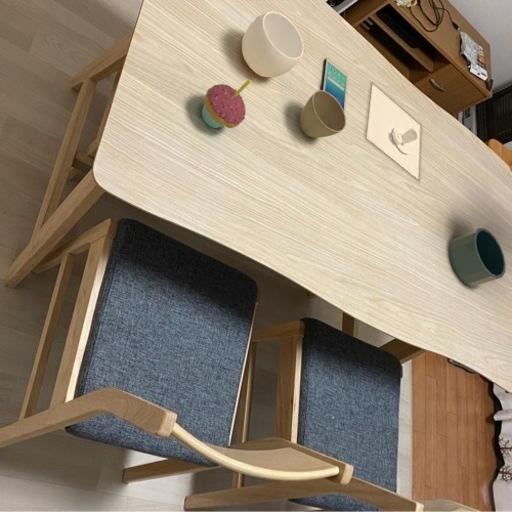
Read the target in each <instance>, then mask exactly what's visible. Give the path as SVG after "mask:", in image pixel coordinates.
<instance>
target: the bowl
mask: <svg viewBox="0 0 512 512" xmlns="http://www.w3.org/2000/svg"><path fill="white" fill-rule="evenodd" d="M448 257H449V261H450V264H451V267H452V269H453V271H454V273H455V275H456V276H457V278H458V279H459V280H460V281H461V282H462V283H463V284H464V285H465V286H468V287H470V288H471V287H473V288H474V287H477V286H480V285H484V284H486V283H489V282H493V281H495V280H500V279H502V278H503V277H504V275H505V274H506V267H507V264H506V258H505V254H504V252H503V249H502V247H501V245H500V243H499V241H498V239H497V238H496V237H495V235H493V233H492V231H490V230H488V229H486V228H485V227H480V228H478V227H477V228H476V229H473V230H471V231H468V232H466V233H464V234H461V235H458V236H456V237H454V238H452V240H451V241H450V243H449V246H448Z"/></svg>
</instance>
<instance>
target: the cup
mask: <svg viewBox="0 0 512 512" xmlns="http://www.w3.org/2000/svg"><path fill="white" fill-rule="evenodd" d="M304 52H305V45H304V40H303V38H302V35H301V33H300V31H299V30H298V29H297V27H296V25H295V24H294V23H293V22H292V21H291V20H290V19H289V18H288V17H287V16H286V15H284V14H283V13H280V12H278V11H274V10H270V11H269V10H268V11H267V12H264V13H262V14H260V15H259V16H257V17H256V18H255V19H254V20H253V21H252V22H251V23H250V24H249V26H248V27H247V29H246V31H245V33H244V35H243V37H242V40H241V54H242V56H243V60H244V61H245V63H246V65H247V66H248V68H250V70H252V71H253V72H255V74H256V75H259V76H260V77H262V78H273V79H275V78H277V77H280V76H283V75H285V74H286V73H288V72H290V71H291V70H292V69H293V68H295V67H296V66H297V65H298V63H299V62H300V60H301V59H302V57H303V54H304Z"/></svg>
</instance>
